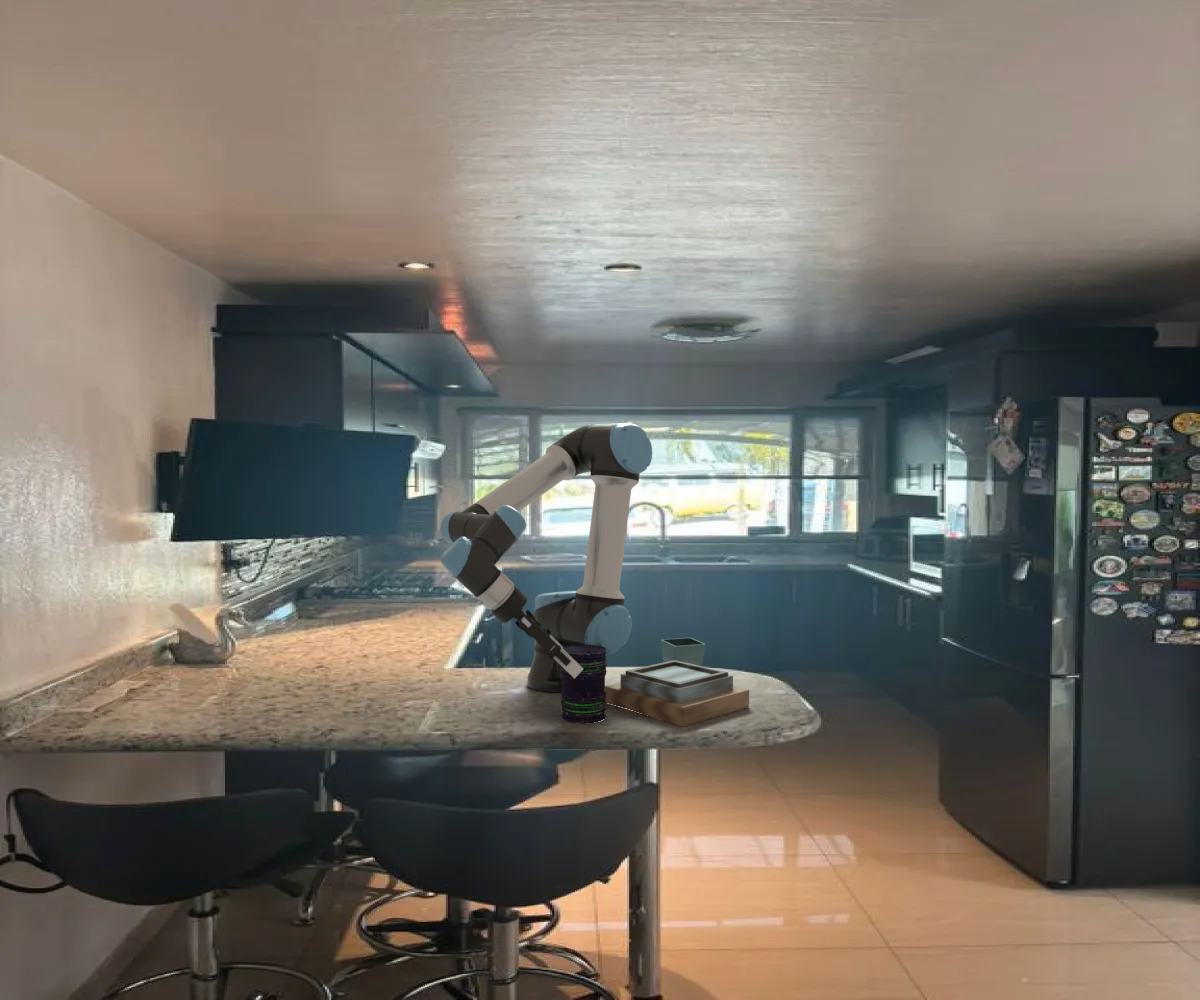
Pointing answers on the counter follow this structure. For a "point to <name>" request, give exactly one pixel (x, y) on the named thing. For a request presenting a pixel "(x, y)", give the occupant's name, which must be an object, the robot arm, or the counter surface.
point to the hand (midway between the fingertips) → (572, 666)
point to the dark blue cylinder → (585, 685)
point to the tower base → (679, 708)
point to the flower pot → (683, 650)
